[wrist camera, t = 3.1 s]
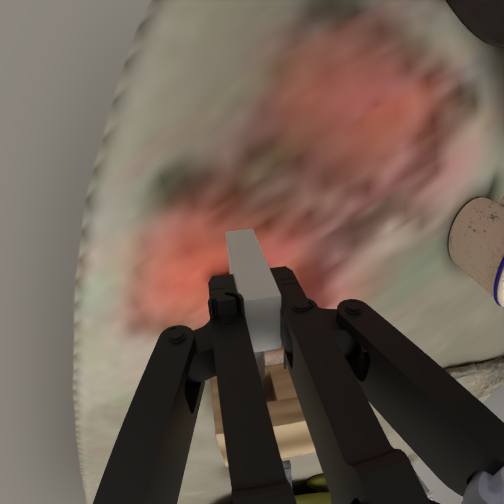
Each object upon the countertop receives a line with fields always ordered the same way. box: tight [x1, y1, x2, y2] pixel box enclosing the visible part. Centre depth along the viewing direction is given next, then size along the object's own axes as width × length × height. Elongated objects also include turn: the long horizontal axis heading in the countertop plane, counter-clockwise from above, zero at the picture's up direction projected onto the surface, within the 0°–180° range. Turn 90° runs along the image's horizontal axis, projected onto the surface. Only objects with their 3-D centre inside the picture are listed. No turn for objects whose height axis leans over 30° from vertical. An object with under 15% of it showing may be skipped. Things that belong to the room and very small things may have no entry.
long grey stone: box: [444, 356, 504, 399], centre depth 44 cm, size 35×5×10 cm
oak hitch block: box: [211, 364, 316, 466], centre depth 32 cm, size 8×12×8 cm, turn 93°
